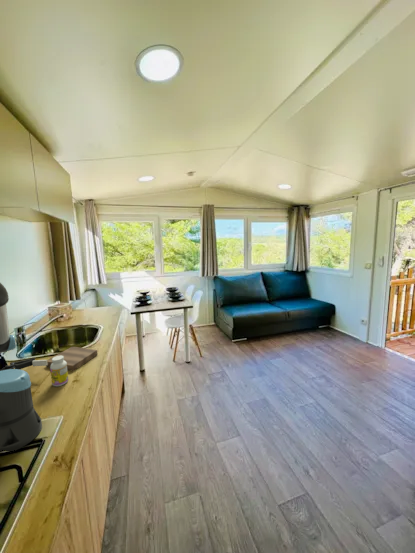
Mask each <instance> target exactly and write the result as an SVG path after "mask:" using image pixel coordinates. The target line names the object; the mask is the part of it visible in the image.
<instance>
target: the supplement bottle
mask: <svg viewBox="0 0 415 553" xmlns="http://www.w3.org/2000/svg"><path fill="white" fill-rule="evenodd" d="M55 356H56V355H55ZM53 357H54V356H53ZM51 358H52V357H51ZM52 362H53V363H52V364H51V366H50V367H49V370H50V377H51V378H50V380H51V385H52V386H53V387H61V386H63V385H65V384H67V383H68V381H69V373H68V372H69V370H67V362H66V361H64V356H61V355H60V356H56V357H54V358H52Z"/></svg>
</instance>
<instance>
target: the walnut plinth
mask: <svg viewBox="0 0 415 553" xmlns="http://www.w3.org/2000/svg"><path fill="white" fill-rule="evenodd" d="M98 354H99V353H98V349H92V348H85V347H77V346H71V347H69V348H67V349H65V350H64V351H61V352H59V353H58V354H56V355H54V356H52V357H51V358H48V359H46V360H47V363H48V365H47V366H46V367H48V368H50V366H51V364H52V363H53V362H52V358H54V357H56V356H60V355H61V356H64V361H66V362H67V371H71V372H74V371H77V369H79V368H80V367H81V366H84V364H86V363H87V362H89V361H91V360H92V359H93V358H95V357H96V356H98ZM90 359H91V360H90Z"/></svg>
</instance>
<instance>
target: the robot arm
mask: <svg viewBox="0 0 415 553" xmlns="http://www.w3.org/2000/svg"><path fill="white" fill-rule="evenodd" d="M9 299H10V298H9V293H8V291H7V289H6V287H5V286H4V284H3V283H2V282H0V354H2V353H7V352H9V351H12V350H15V349H16V348H17V343H16V336H15V335H14V334H10V328H9V319H8V310H7V303H8V302H9ZM47 360H48V359H38V360H36V358H35V357H32V358H28V359H22V360H17V361H12V362H11V361H10V364H8V365H4V366H5V367H3V368H2V369H0V451H2V450H3V451H4V450H6V451H13V452H16V451H17V450H20V449H22V448H24V447H25V446H27V445H28V444H29V443H31V442H32V441H33V440H34V439H36V438H37V437H38V436H39V434H40V432H41V431H42V428H43V425H42V424H43V423H42V422H43V421H42V418H41V417H40V415H39V414H38V412H37V410H36V409H35V408H34V402H33V395H32V388H31V386H32V382H31V376H30V374H29V373H28V372H27V371H25V370H24V369H25V368H29V367H31V366H32V367H44V366H45V367H47V365H48V363H47ZM14 450H15V451H14Z"/></svg>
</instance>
